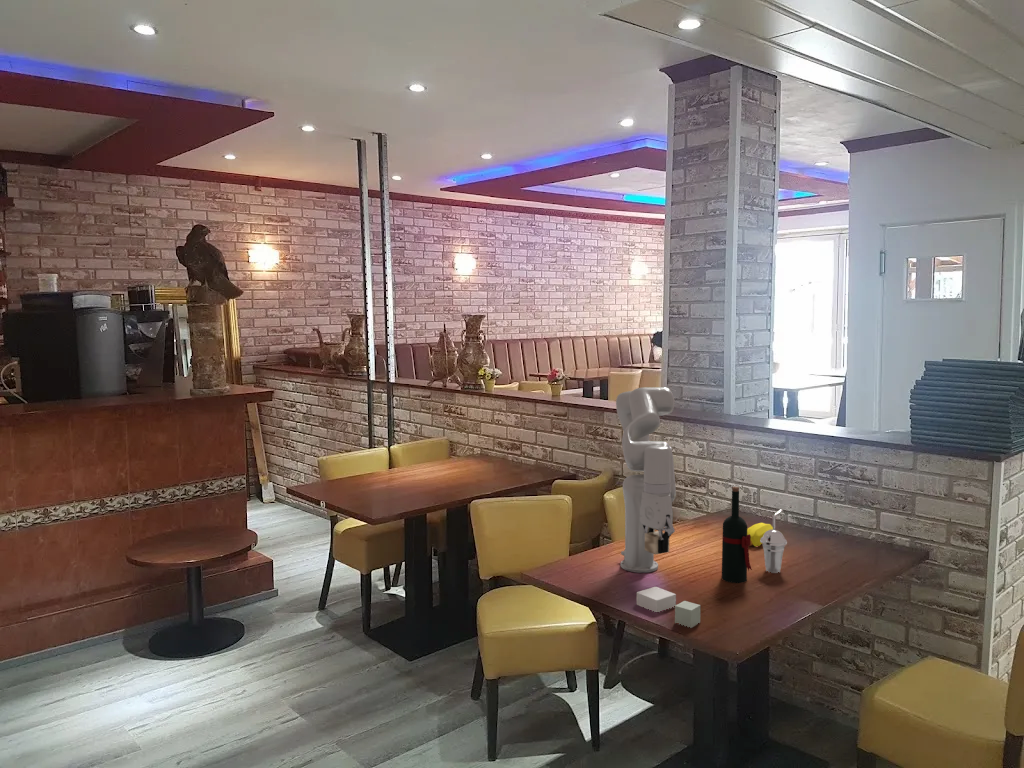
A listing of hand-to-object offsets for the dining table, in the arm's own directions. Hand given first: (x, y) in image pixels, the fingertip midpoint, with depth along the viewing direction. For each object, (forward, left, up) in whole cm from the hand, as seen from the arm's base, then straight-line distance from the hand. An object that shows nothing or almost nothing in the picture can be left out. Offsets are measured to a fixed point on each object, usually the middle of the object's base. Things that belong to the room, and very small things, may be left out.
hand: (656, 549), depth 216 cm
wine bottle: (-5, +36, -17) cm, 40 cm away
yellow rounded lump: (-32, +72, -17) cm, 81 cm away
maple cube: (0, 0, -1) cm, 1 cm away
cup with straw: (-6, +53, -17) cm, 56 cm away
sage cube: (+14, 0, -17) cm, 22 cm away
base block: (0, 0, -17) cm, 17 cm away
